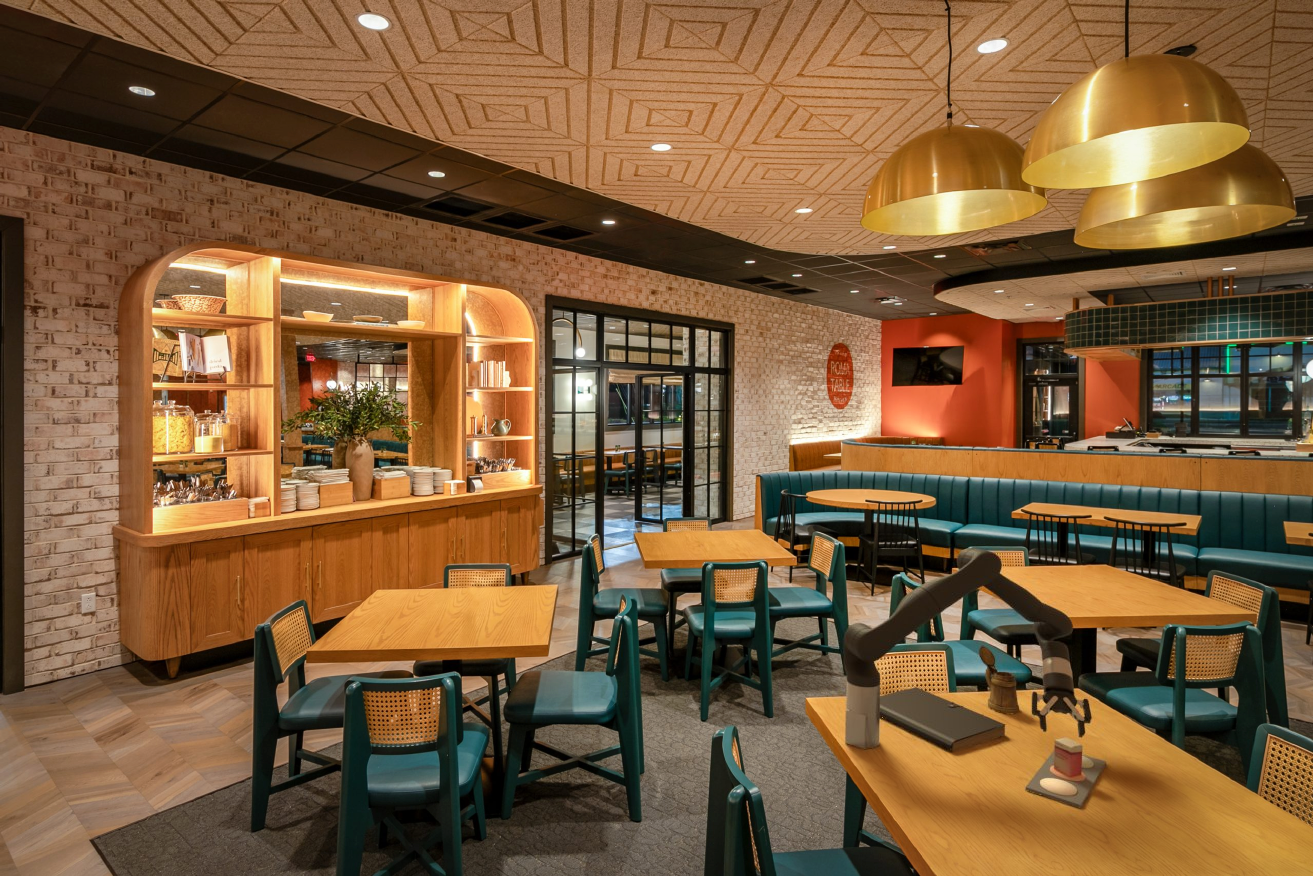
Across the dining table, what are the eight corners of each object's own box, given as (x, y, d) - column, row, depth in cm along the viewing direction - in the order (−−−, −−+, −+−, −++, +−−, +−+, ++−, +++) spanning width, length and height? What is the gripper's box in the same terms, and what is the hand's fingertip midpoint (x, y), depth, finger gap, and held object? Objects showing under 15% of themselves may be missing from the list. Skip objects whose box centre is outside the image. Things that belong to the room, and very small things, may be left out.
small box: (1052, 769, 183) (1053, 739, 182) (1064, 766, 184) (1065, 736, 184) (1070, 778, 178) (1071, 747, 178) (1082, 775, 179) (1083, 744, 179)
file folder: (1006, 723, 205) (950, 741, 194) (1006, 737, 205) (950, 755, 194) (916, 686, 234) (863, 699, 223) (916, 698, 234) (863, 712, 223)
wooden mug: (989, 696, 235) (990, 643, 235) (1025, 711, 223) (1026, 655, 222) (970, 700, 231) (971, 646, 231) (1006, 716, 219) (1007, 659, 219)
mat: (1080, 808, 166) (1080, 803, 166) (1025, 790, 174) (1025, 785, 174) (1106, 764, 188) (1106, 760, 188) (1056, 750, 196) (1056, 746, 196)
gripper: (1030, 668, 200) (1034, 723, 190) (1088, 675, 194) (1095, 732, 184) (1028, 680, 205) (1032, 734, 195) (1084, 687, 199) (1091, 744, 189)
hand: (1062, 733), depth 189 cm, fingers open, 8 cm apart
